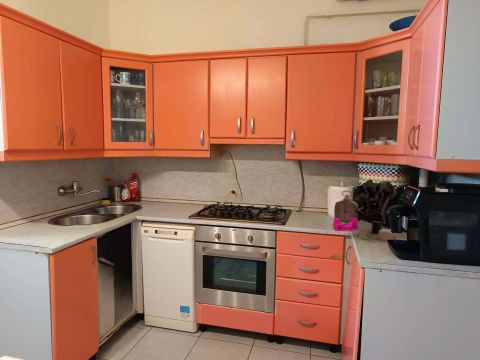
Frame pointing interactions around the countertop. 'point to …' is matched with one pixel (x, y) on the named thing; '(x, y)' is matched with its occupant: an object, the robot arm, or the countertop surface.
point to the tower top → (386, 233)
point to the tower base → (385, 238)
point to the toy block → (348, 227)
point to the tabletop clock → (345, 209)
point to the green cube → (364, 234)
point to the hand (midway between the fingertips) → (362, 218)
